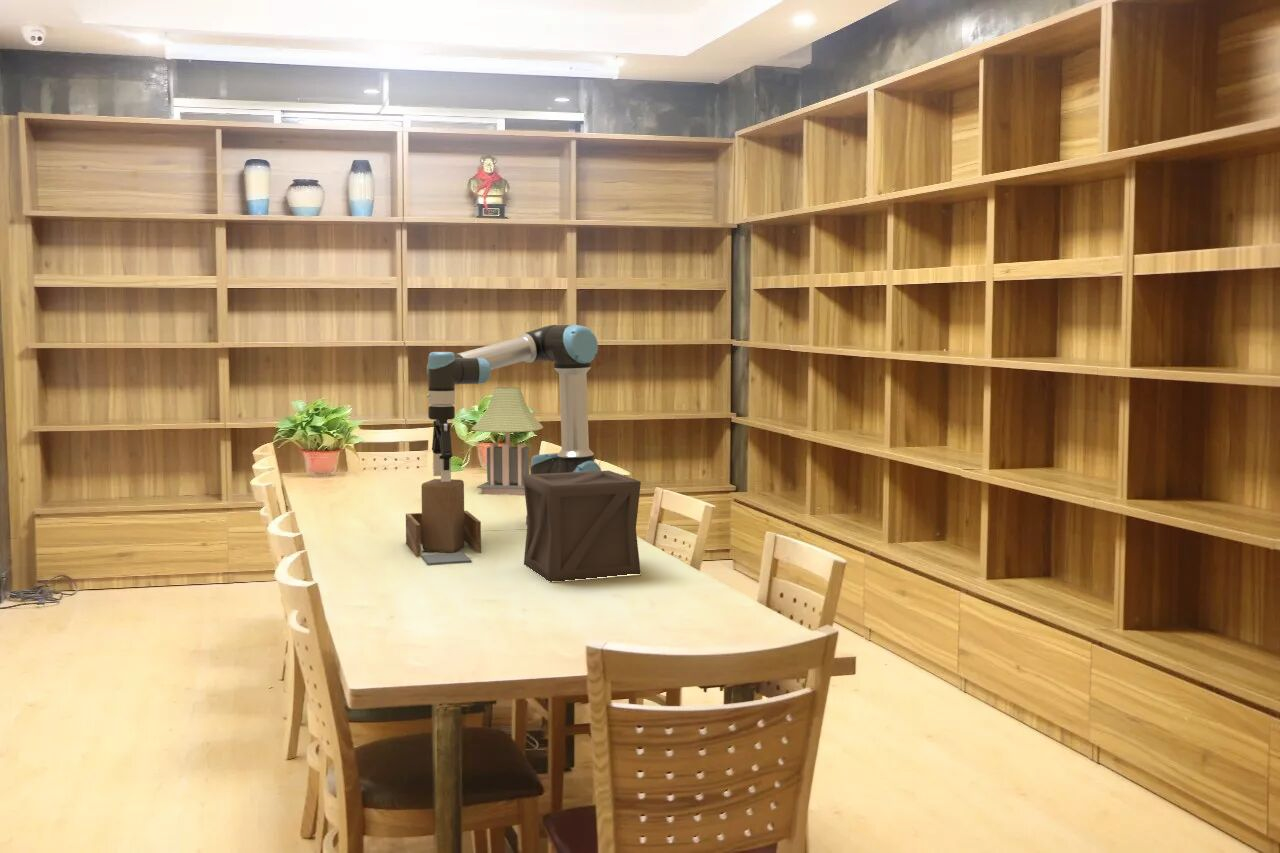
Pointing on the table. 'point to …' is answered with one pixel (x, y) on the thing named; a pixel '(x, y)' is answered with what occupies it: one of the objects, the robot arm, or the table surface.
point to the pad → (446, 558)
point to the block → (443, 515)
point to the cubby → (415, 532)
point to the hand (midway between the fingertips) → (441, 478)
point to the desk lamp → (507, 460)
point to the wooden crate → (581, 525)
